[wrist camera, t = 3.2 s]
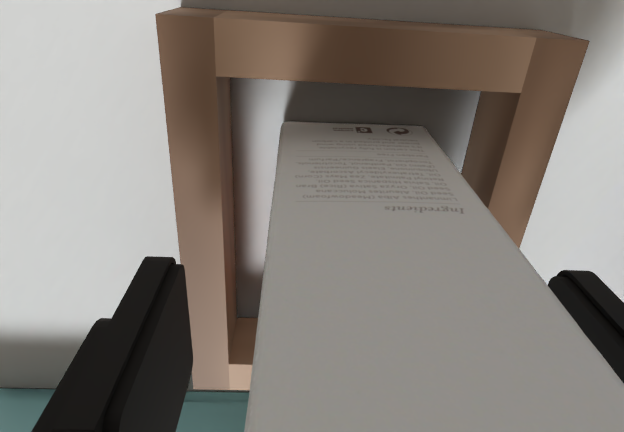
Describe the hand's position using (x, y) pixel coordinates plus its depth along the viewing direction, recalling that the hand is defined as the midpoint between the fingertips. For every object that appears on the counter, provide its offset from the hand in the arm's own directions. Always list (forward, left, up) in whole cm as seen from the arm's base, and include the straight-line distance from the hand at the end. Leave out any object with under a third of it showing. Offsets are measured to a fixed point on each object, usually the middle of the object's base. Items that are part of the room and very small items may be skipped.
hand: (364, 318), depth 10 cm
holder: (0, 0, -5) cm, 5 cm away
